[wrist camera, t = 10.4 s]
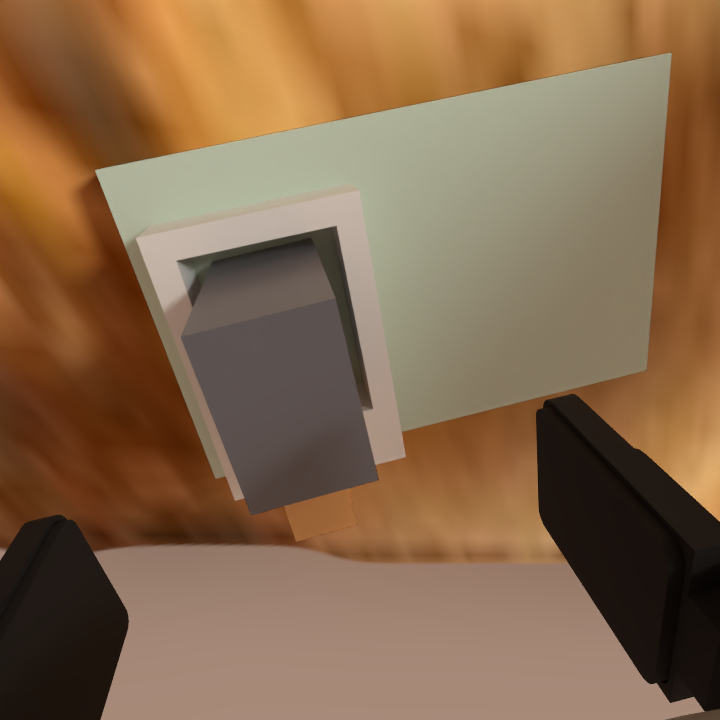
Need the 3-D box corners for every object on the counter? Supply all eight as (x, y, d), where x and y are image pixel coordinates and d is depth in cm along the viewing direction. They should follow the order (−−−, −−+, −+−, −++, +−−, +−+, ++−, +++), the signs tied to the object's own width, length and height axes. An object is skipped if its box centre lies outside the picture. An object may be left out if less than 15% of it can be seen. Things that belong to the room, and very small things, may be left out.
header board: (645, 57, 21) (724, 42, 17) (627, 358, 27) (683, 393, 23) (107, 167, 19) (70, 176, 16) (218, 460, 25) (210, 515, 22)
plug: (311, 237, 20) (335, 297, 13) (350, 397, 23) (387, 516, 16) (212, 261, 20) (180, 337, 13) (266, 419, 23) (265, 550, 16)
